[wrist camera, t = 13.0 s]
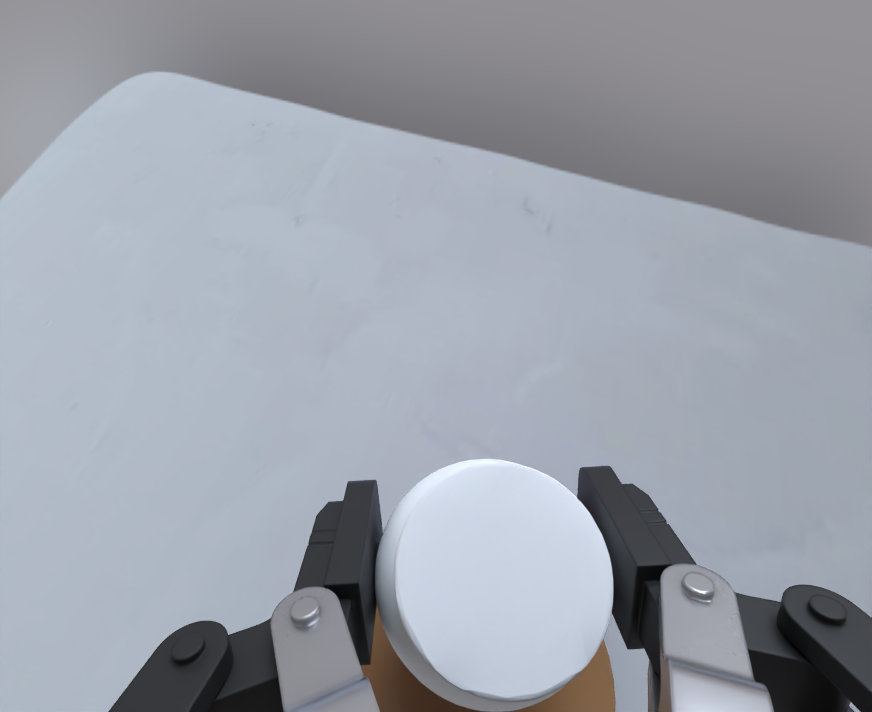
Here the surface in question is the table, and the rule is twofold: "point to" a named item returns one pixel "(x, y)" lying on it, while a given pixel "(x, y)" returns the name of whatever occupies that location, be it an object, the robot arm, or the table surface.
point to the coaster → (421, 708)
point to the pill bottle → (493, 584)
